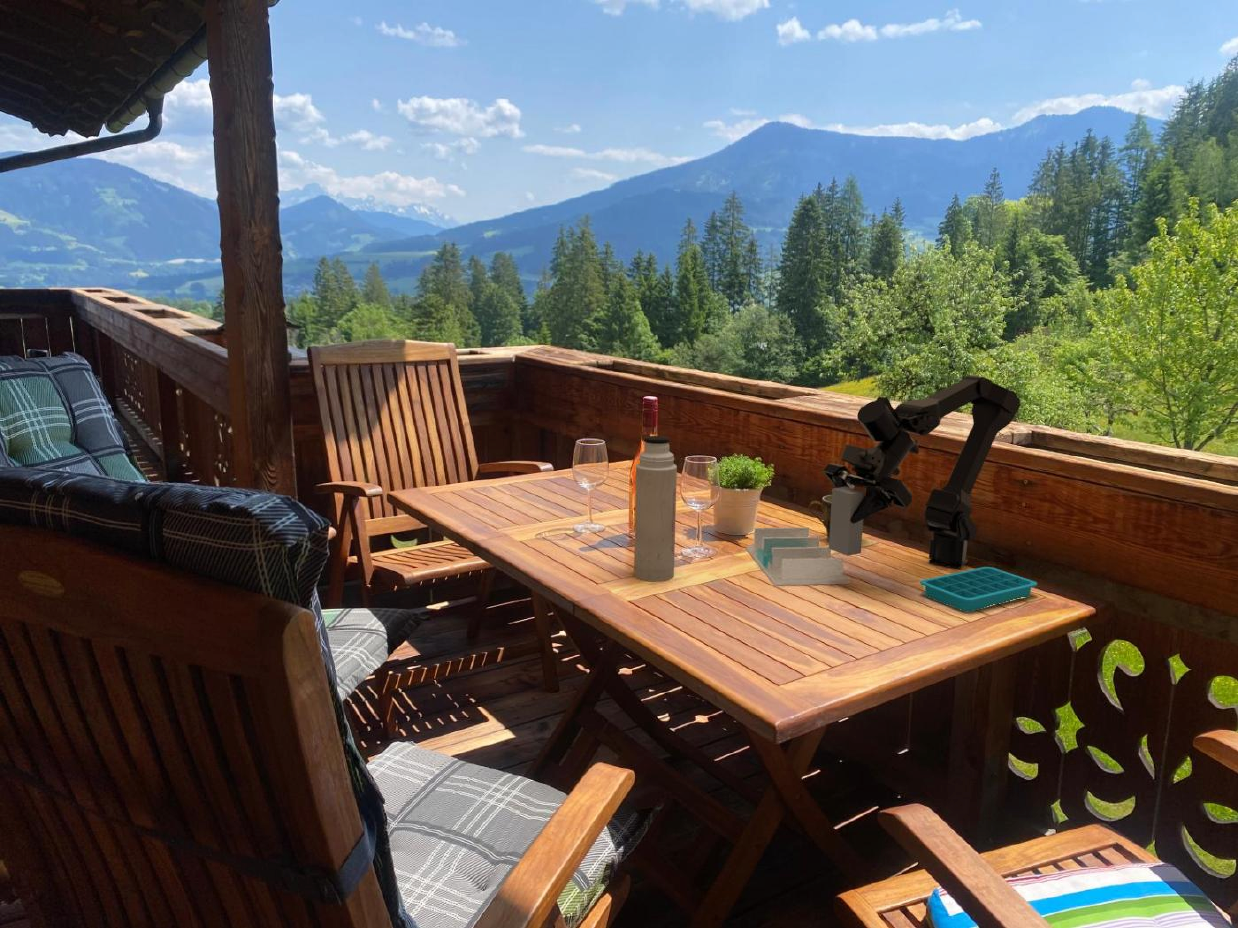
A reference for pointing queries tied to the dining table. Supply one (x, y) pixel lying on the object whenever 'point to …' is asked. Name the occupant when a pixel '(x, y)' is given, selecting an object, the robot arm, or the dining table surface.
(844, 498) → the tall gray rectangular box
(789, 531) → the tray
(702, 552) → the dining table surface
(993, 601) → the ice cube tray
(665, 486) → the thermos bottle
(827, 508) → the ceramic cup
